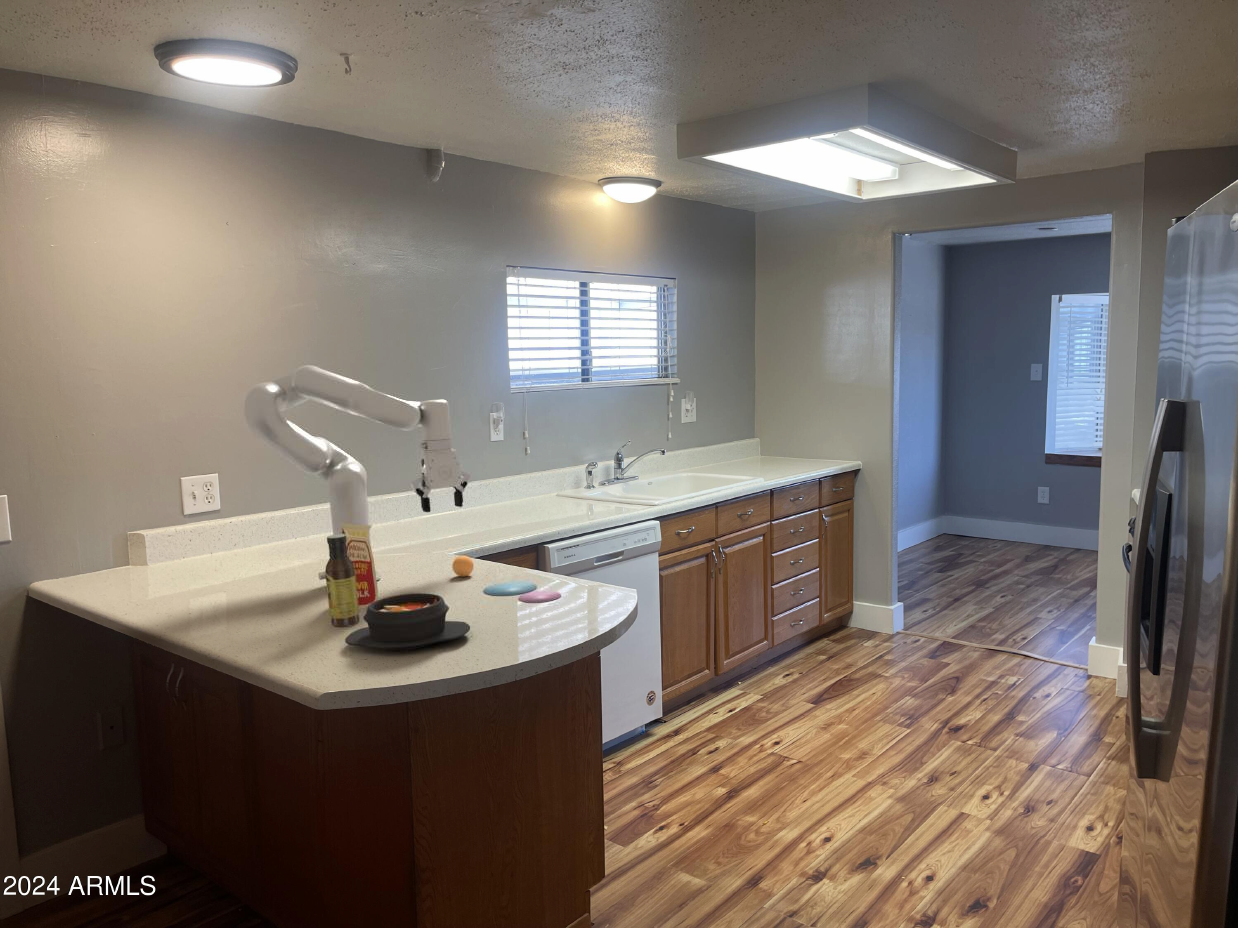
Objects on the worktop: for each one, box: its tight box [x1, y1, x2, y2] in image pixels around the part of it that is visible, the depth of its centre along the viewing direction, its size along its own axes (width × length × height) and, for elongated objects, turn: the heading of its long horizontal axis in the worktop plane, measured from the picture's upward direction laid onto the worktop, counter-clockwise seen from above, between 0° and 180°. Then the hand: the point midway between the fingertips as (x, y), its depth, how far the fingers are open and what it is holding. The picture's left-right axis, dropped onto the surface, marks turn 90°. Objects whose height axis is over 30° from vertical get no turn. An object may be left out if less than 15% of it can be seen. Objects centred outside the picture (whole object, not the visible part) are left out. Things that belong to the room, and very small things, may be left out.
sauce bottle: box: [324, 534, 360, 628], centre depth 203 cm, size 6×6×20 cm
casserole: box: [344, 592, 471, 651], centre depth 187 cm, size 25×19×8 cm
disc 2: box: [518, 590, 562, 604], centre depth 218 cm, size 10×10×1 cm
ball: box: [451, 555, 474, 577], centre depth 243 cm, size 6×6×6 cm
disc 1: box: [483, 581, 538, 597], centre depth 227 cm, size 13×13×1 cm
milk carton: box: [341, 523, 379, 609], centre depth 220 cm, size 9×9×20 cm
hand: (442, 509), depth 249 cm, fingers open, 9 cm apart
